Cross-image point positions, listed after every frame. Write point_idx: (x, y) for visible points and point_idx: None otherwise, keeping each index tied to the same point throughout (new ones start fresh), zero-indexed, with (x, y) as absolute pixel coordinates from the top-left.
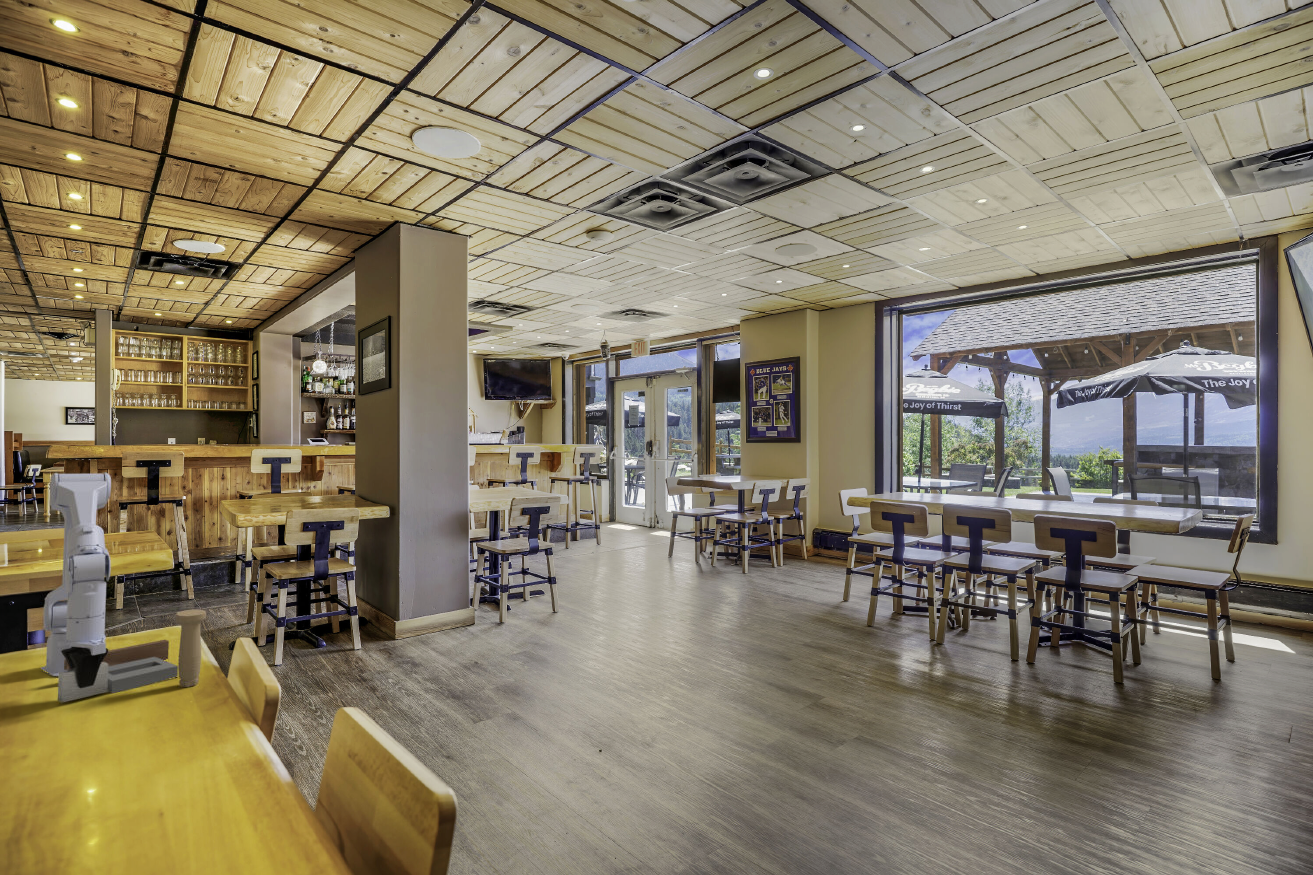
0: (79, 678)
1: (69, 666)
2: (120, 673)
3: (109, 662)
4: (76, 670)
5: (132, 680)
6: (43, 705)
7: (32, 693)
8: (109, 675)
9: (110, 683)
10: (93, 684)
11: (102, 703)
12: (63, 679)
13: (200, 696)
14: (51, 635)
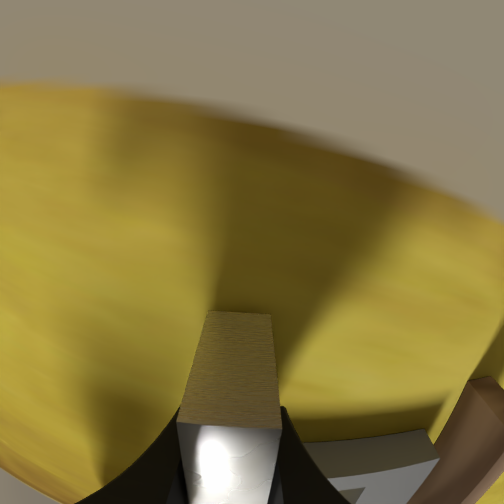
0: (161, 434)
1: (313, 479)
2: (348, 494)
3: (438, 490)
4: (160, 469)
5: None
6: (296, 260)
7: (494, 287)
8: None
9: None
10: None
11: (111, 383)
12: (186, 390)
13: (25, 463)
14: None
